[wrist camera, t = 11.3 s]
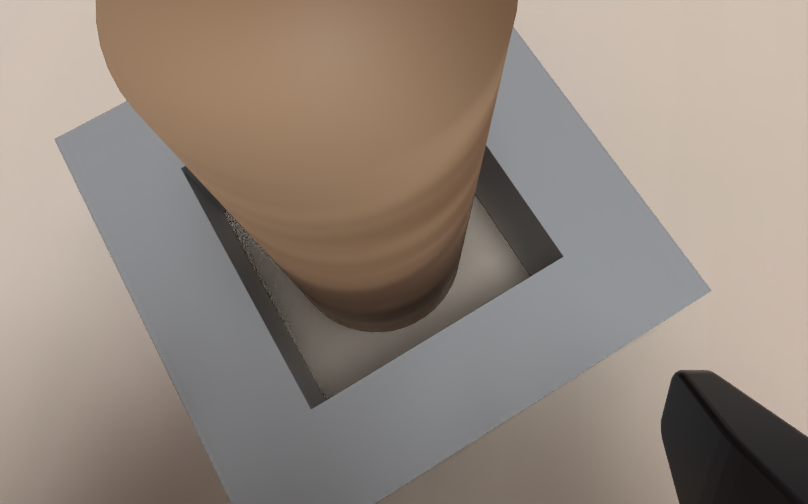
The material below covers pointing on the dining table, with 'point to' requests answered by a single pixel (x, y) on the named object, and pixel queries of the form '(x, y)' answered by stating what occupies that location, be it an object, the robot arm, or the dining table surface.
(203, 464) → the dining table surface
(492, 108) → the walnut peg
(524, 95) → the socket block
